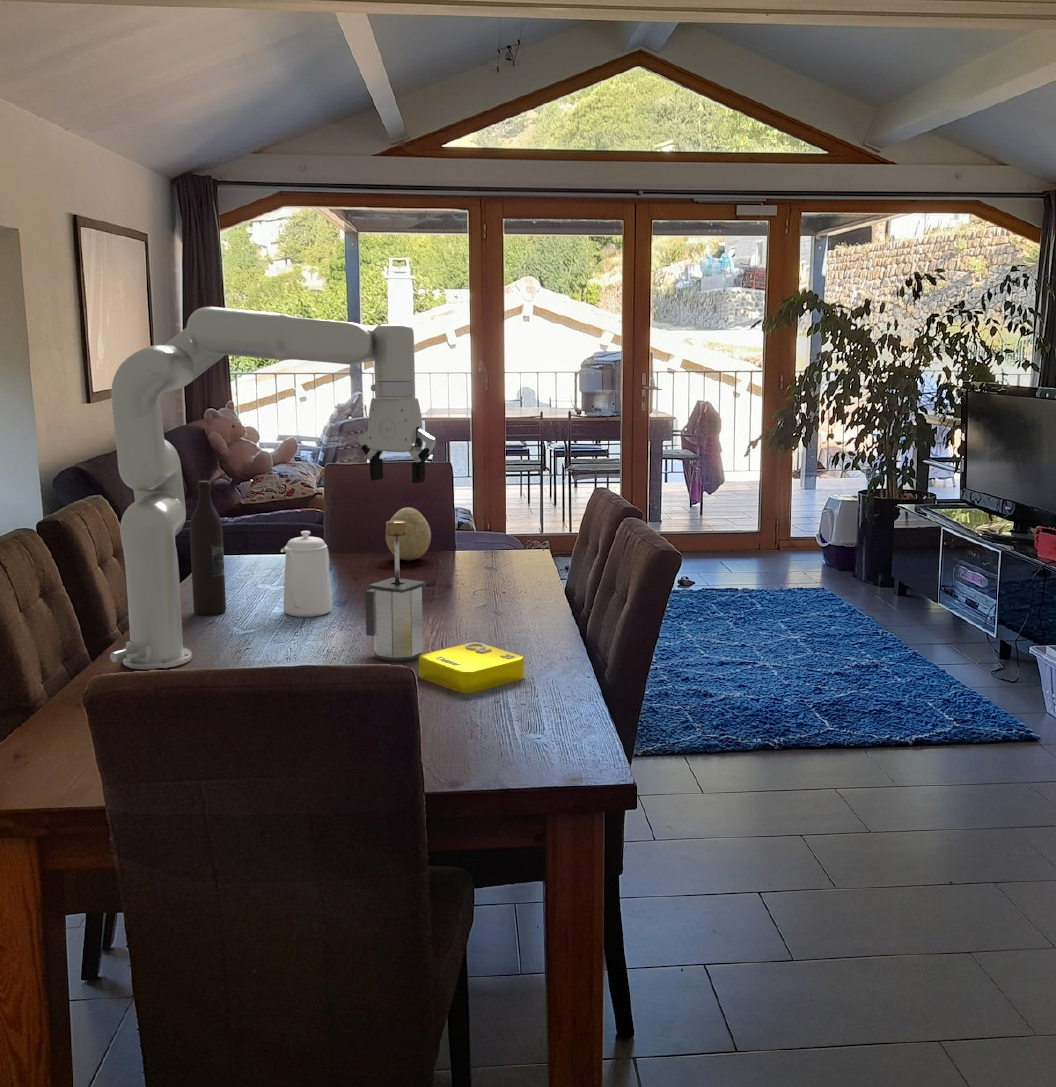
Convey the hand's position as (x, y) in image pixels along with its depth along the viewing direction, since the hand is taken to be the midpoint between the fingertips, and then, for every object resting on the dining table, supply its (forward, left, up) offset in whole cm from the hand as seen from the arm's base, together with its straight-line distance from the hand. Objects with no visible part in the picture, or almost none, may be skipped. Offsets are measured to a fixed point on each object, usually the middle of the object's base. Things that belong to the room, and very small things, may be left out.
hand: (397, 481), depth 207 cm
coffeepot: (+18, +38, -35) cm, 55 cm away
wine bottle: (+7, +57, -35) cm, 67 cm away
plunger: (0, 0, -22) cm, 22 cm away
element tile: (-4, -19, -35) cm, 40 cm away
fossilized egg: (+80, +53, -35) cm, 102 cm away
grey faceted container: (0, +1, -35) cm, 35 cm away
